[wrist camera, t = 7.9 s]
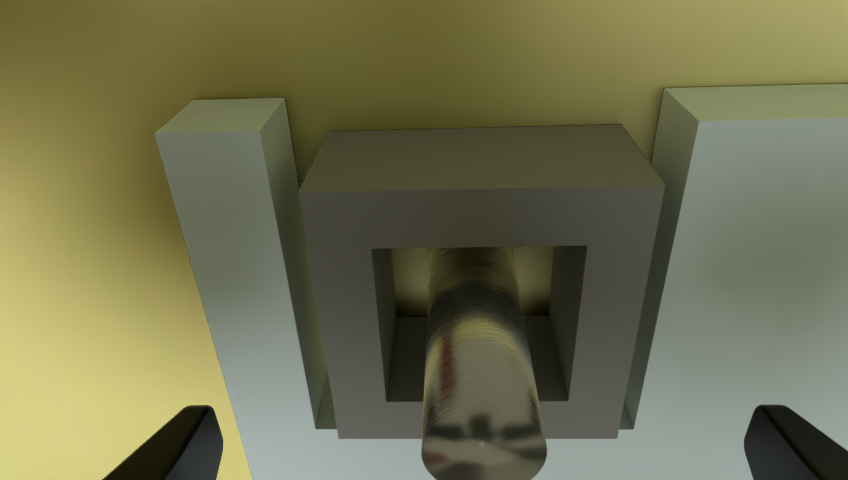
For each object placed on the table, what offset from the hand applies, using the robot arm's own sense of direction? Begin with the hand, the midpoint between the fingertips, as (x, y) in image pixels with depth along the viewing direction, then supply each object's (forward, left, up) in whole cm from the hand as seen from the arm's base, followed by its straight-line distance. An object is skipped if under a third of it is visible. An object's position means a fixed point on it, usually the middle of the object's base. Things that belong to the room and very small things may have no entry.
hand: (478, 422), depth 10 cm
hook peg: (0, 0, -5) cm, 5 cm away
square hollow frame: (0, 0, -5) cm, 5 cm away
